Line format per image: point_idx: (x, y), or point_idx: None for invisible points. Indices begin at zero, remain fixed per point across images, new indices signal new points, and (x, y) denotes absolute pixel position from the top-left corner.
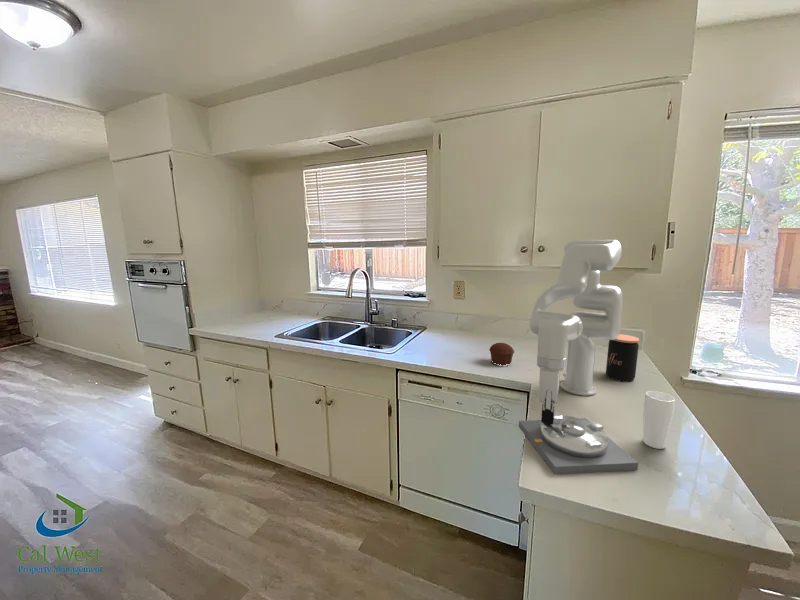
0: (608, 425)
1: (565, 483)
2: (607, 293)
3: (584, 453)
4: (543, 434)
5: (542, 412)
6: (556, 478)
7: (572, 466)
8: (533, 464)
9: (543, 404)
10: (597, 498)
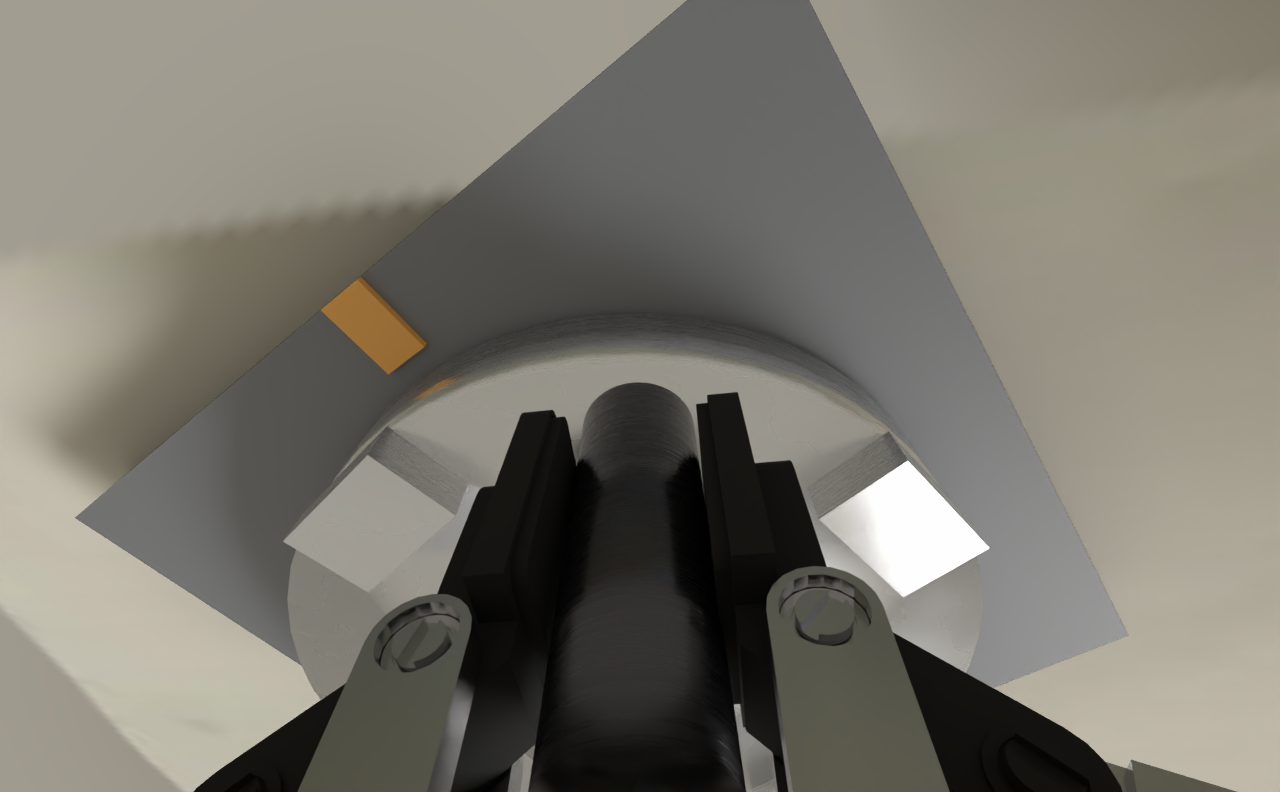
0: (1104, 702)
1: (94, 540)
2: None
3: None
4: (411, 403)
5: (481, 536)
6: (88, 488)
7: (221, 606)
8: (85, 308)
9: (308, 785)
10: (134, 675)
